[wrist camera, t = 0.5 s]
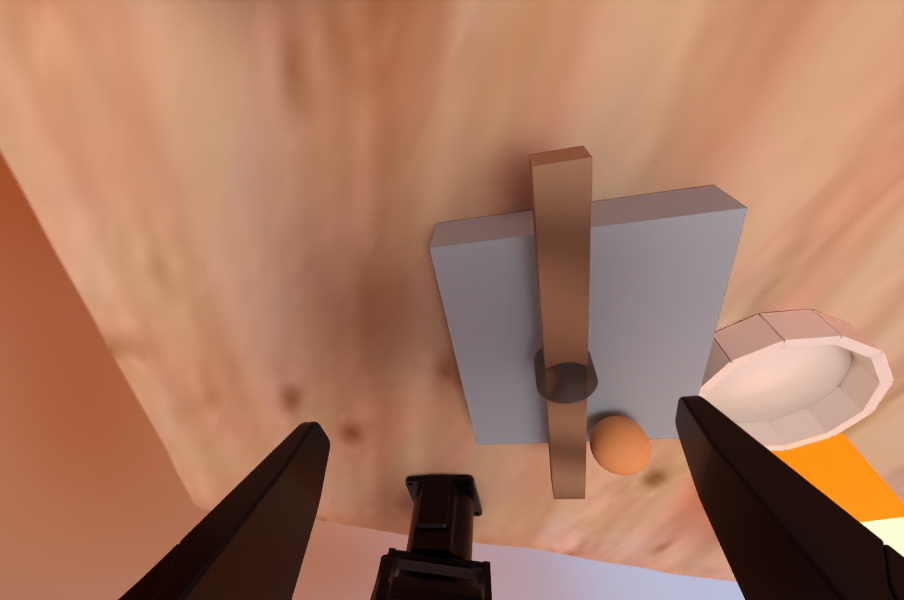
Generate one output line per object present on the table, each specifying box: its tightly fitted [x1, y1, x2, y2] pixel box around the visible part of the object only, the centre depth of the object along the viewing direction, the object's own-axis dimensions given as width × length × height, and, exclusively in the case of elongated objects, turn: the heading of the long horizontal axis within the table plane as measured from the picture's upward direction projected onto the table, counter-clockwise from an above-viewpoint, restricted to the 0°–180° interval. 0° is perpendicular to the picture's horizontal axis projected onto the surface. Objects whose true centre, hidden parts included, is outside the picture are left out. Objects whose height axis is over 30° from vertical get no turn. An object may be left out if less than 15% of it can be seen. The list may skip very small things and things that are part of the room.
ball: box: [590, 416, 650, 475], centre depth 23 cm, size 3×3×3 cm
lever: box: [529, 146, 598, 499], centre depth 20 cm, size 22×3×2 cm, turn 11°
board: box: [429, 185, 747, 445], centre depth 23 cm, size 16×14×4 cm
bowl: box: [699, 309, 893, 451], centre depth 24 cm, size 10×10×2 cm
